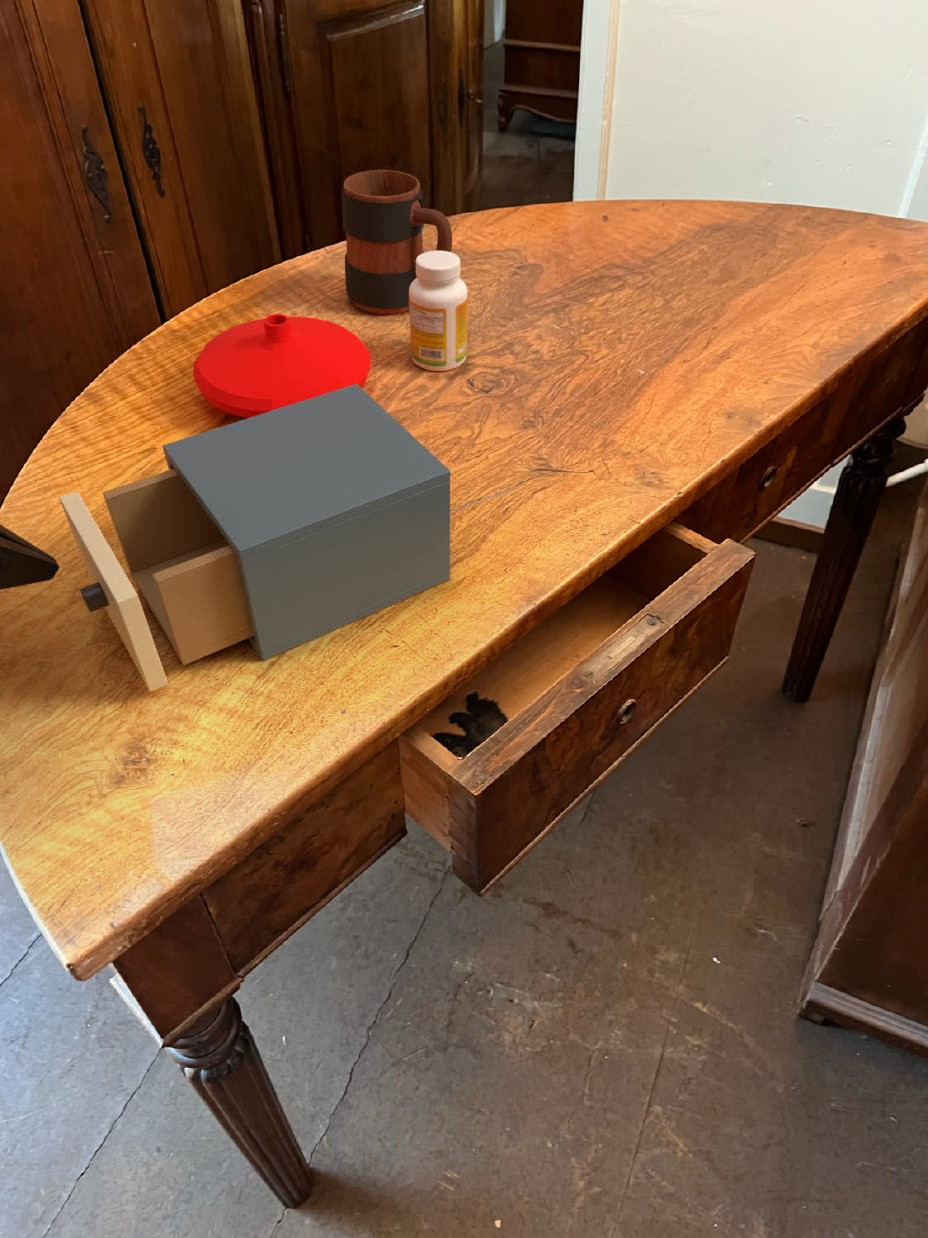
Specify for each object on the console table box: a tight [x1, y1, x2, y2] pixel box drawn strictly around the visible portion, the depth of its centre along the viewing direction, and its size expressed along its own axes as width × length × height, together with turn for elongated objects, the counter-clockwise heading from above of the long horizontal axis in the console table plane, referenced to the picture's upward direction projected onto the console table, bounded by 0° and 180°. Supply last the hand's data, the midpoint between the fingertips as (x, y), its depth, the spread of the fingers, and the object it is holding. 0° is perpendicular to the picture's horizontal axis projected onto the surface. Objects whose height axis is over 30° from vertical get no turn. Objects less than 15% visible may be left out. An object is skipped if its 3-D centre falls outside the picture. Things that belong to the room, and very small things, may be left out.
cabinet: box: [162, 384, 451, 662], centre depth 61 cm, size 15×13×10 cm
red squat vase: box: [192, 313, 372, 419], centre depth 79 cm, size 16×16×7 cm
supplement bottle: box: [409, 250, 468, 372], centre depth 83 cm, size 5×5×10 cm
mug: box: [341, 169, 453, 315], centre depth 90 cm, size 9×12×12 cm
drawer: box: [58, 469, 254, 693], centre depth 58 cm, size 15×11×8 cm
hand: (54, 569), depth 53 cm, fingers closed
